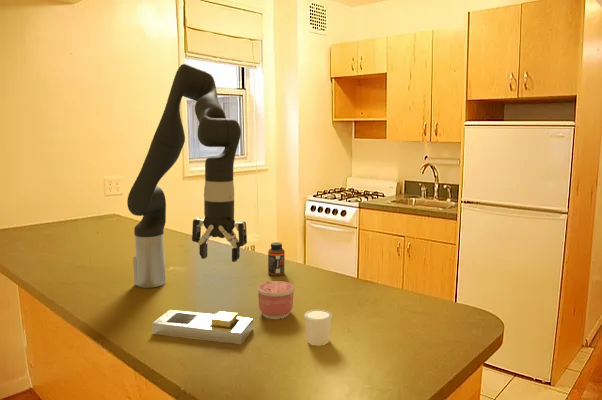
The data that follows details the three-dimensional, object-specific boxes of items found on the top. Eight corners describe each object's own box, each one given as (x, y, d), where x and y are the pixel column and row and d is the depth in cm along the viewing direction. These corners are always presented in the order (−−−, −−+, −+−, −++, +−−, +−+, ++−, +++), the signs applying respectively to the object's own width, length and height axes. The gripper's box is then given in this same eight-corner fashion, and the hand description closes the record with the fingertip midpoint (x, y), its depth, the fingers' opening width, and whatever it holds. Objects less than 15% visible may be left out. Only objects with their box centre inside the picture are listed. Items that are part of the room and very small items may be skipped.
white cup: (303, 335, 119) (303, 309, 118) (329, 334, 120) (329, 308, 119) (305, 347, 112) (305, 320, 111) (333, 346, 113) (334, 319, 112)
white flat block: (152, 333, 119) (152, 322, 119) (170, 320, 128) (169, 309, 127) (240, 344, 114) (240, 332, 113) (252, 329, 122) (252, 318, 122)
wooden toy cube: (211, 337, 118) (211, 318, 117) (219, 329, 122) (219, 311, 122) (230, 339, 116) (229, 320, 116) (237, 331, 121) (237, 313, 121)
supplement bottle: (282, 276, 165) (282, 246, 163) (266, 275, 166) (266, 245, 165) (286, 271, 171) (286, 242, 169) (270, 270, 172) (270, 241, 170)
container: (274, 303, 140) (274, 278, 139) (301, 312, 134) (301, 286, 132) (249, 314, 132) (249, 287, 131) (277, 324, 126) (277, 296, 124)
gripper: (250, 197, 119) (250, 258, 122) (200, 194, 123) (200, 253, 126) (240, 202, 112) (239, 266, 115) (186, 198, 116) (187, 260, 118)
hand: (219, 259), depth 120 cm, fingers open, 8 cm apart
